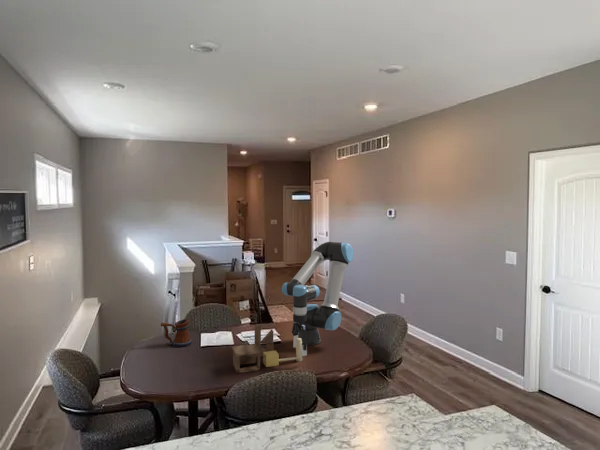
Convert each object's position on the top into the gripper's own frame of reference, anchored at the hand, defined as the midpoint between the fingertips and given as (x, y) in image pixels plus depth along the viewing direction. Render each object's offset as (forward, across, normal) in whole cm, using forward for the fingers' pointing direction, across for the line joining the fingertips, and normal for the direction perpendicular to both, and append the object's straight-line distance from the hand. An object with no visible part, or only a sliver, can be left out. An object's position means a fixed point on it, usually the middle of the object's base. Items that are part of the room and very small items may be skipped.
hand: (299, 351), depth 235 cm
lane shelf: (+4, 0, -30) cm, 31 cm away
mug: (+5, -47, -63) cm, 79 cm away
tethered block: (+5, 0, -9) cm, 11 cm away
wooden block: (+5, -13, -17) cm, 22 cm away
